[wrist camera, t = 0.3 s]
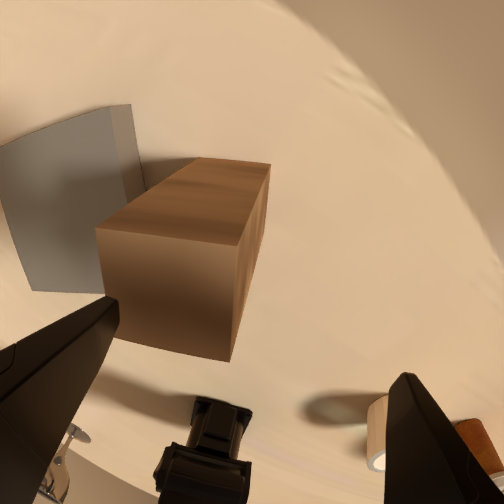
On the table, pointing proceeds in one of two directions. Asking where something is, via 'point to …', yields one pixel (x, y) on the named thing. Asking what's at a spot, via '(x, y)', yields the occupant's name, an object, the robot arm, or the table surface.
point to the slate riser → (69, 195)
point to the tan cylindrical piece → (376, 434)
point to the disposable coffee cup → (482, 449)
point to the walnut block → (187, 256)
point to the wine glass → (60, 469)
